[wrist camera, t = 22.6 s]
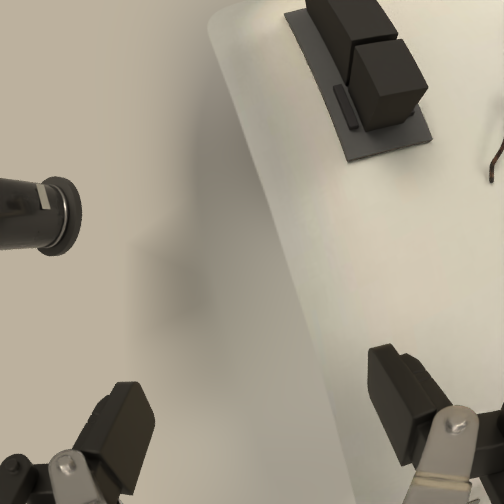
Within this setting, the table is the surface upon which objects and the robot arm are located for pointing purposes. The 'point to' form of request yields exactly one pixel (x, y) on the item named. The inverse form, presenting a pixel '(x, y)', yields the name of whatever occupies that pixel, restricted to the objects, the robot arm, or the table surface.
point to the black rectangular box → (385, 83)
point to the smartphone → (474, 502)
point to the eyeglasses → (503, 147)
